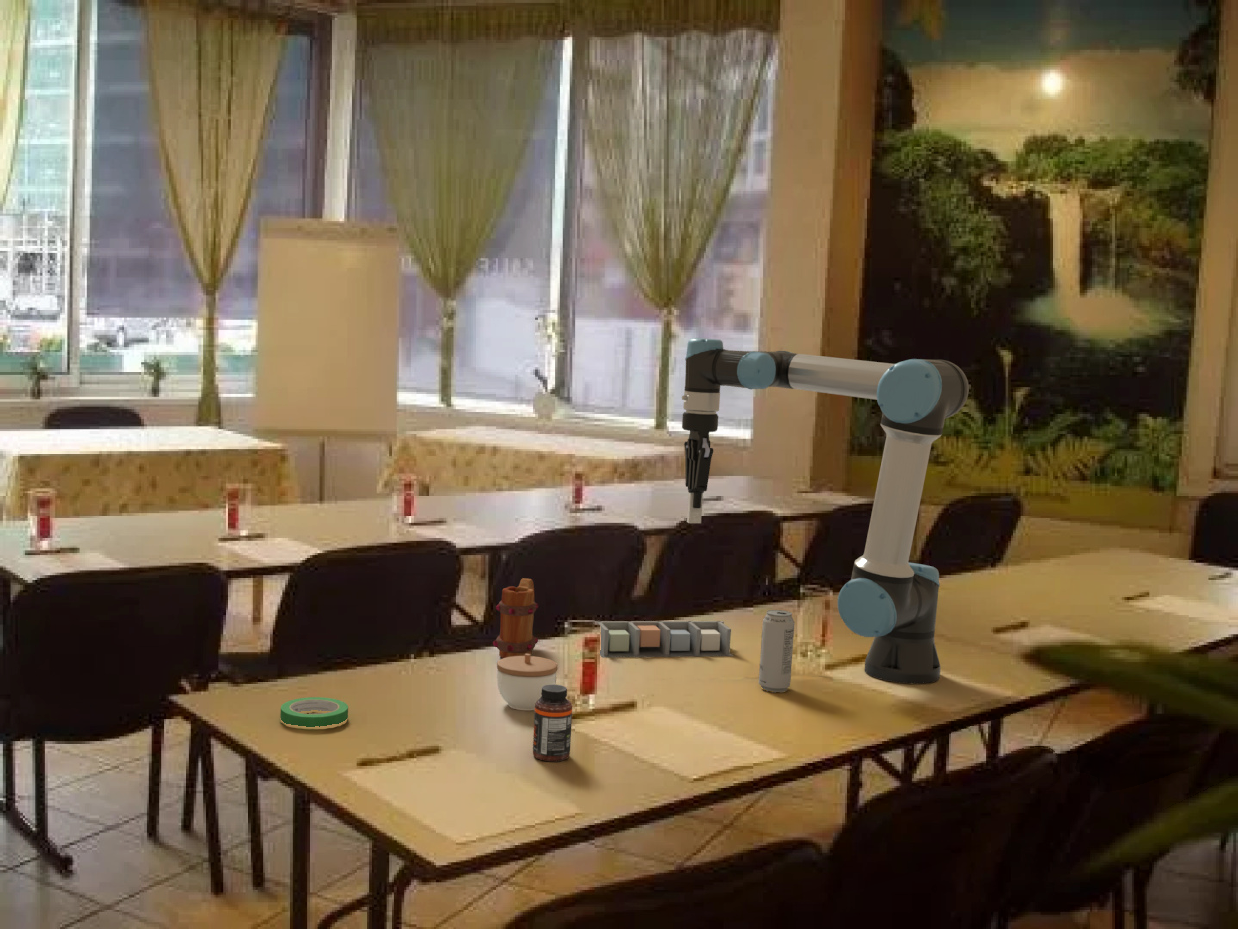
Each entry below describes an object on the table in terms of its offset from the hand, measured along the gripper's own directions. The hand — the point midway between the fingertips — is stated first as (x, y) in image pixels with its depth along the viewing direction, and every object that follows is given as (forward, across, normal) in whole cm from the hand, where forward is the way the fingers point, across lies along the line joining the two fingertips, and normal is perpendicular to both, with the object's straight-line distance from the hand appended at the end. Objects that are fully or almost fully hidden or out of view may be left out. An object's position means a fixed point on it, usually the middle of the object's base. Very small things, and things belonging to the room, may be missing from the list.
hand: (693, 522), depth 303 cm
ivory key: (+25, +9, +2) cm, 27 cm away
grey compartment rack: (+26, +9, -8) cm, 29 cm away
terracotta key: (+24, +9, -11) cm, 28 cm away
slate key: (+25, +9, -5) cm, 27 cm away
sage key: (+25, +9, -18) cm, 32 cm away
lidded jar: (+27, +43, -43) cm, 66 cm away
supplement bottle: (+27, +71, -44) cm, 88 cm away
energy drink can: (+27, +35, +7) cm, 45 cm away
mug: (+27, +8, -38) cm, 47 cm away
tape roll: (+27, +49, -80) cm, 98 cm away
